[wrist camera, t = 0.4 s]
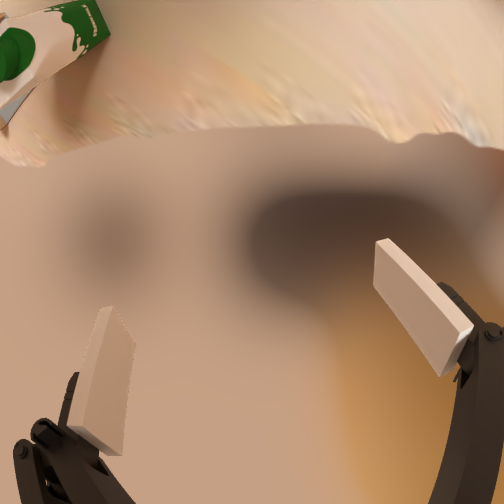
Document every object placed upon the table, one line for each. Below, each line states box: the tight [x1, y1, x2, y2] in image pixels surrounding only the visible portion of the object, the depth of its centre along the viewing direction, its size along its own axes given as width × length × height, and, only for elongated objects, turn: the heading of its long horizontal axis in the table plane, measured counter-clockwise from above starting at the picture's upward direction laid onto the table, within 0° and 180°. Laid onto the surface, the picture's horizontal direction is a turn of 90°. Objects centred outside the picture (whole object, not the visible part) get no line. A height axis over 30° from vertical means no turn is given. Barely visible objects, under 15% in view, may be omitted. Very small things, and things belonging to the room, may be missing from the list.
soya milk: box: [0, 0, 111, 110], centre depth 19 cm, size 9×9×20 cm
